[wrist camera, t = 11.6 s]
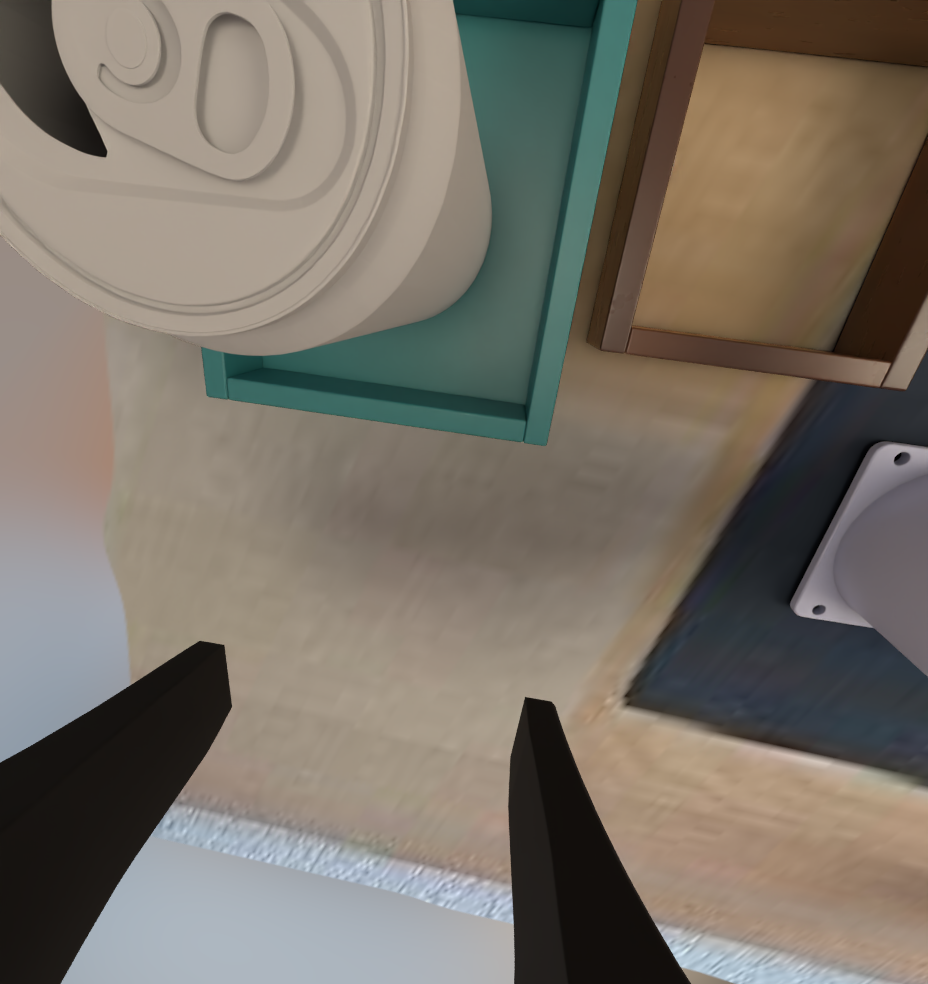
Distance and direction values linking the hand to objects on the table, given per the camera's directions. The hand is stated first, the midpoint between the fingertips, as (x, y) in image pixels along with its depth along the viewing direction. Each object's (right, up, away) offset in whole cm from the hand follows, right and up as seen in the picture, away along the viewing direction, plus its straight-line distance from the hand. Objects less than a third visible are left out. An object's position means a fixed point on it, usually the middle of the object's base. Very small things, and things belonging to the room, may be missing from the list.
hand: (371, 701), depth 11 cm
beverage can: (0, +14, +5) cm, 15 cm away
